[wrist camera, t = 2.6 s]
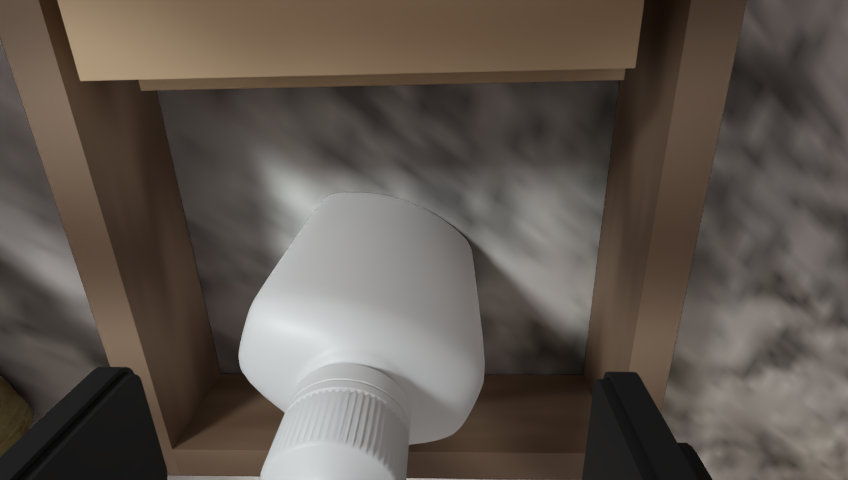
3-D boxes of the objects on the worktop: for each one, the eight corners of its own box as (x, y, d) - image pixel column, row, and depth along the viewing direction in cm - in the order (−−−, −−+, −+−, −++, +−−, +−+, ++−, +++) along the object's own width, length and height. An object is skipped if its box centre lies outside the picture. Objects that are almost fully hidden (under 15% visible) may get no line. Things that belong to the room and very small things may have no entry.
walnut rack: (76, -79, 14) (-51, -116, 11) (686, -101, 14) (777, -149, 10) (198, 396, 21) (146, 475, 17) (609, 399, 20) (646, 480, 17)
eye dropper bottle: (399, 325, 19) (341, 721, 8) (294, 222, 18) (50, 541, 7) (487, 259, 18) (558, 622, 7) (383, 143, 17) (263, 375, 5)
